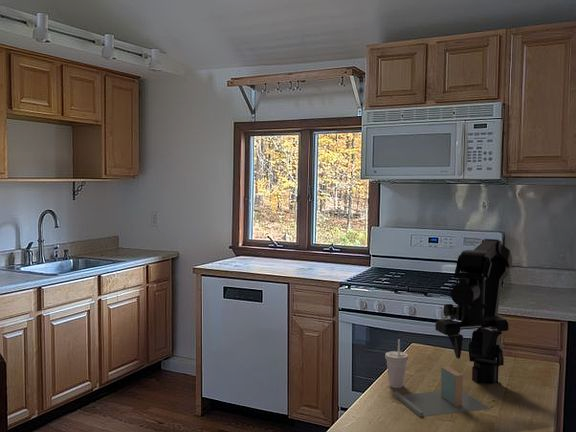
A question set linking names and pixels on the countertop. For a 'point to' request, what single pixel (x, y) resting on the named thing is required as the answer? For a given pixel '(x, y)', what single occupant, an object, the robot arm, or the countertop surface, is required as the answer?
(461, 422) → the countertop surface
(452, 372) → the tile
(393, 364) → the smoothie
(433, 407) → the slate board
